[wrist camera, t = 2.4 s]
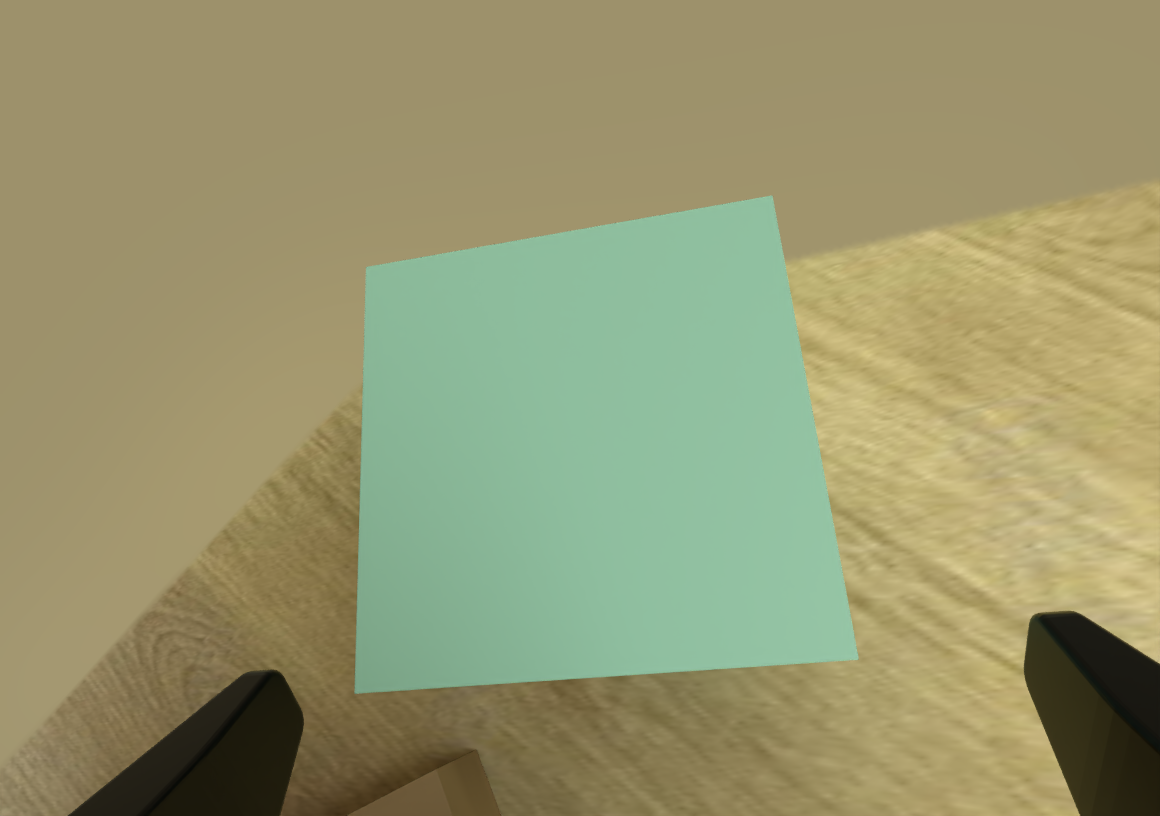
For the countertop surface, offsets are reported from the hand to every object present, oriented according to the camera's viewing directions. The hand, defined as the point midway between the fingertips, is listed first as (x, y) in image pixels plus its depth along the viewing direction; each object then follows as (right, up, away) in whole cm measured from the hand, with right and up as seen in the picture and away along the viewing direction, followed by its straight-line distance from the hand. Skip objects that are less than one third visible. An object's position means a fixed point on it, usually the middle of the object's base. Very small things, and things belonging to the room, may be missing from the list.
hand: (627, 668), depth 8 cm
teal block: (+2, -1, +10) cm, 10 cm away
